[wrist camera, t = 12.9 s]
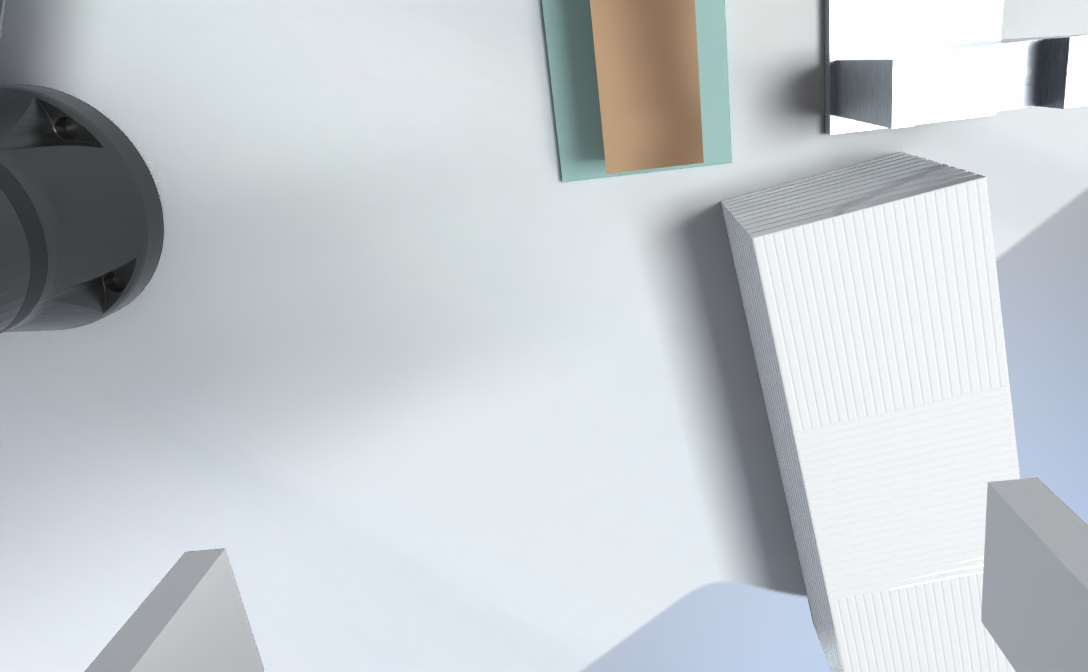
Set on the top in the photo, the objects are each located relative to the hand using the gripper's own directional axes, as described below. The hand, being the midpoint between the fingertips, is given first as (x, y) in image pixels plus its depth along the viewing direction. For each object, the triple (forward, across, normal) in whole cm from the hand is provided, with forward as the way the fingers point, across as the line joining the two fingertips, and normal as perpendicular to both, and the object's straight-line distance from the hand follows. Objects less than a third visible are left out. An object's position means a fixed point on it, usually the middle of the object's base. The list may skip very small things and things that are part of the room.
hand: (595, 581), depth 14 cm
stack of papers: (+37, +15, -16) cm, 42 cm away
